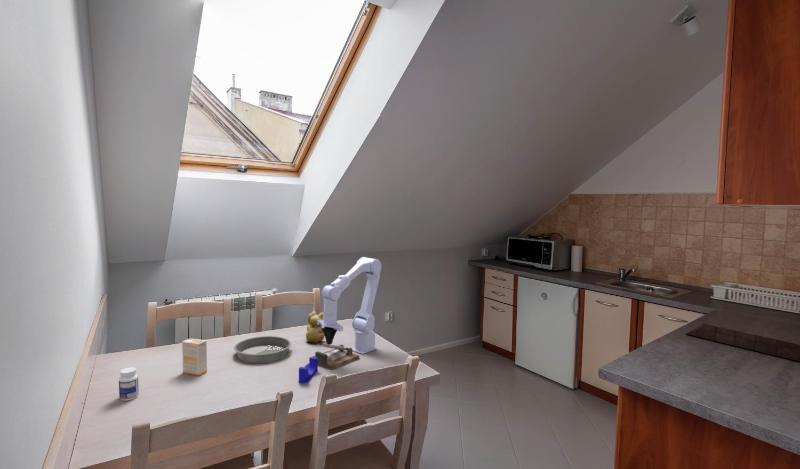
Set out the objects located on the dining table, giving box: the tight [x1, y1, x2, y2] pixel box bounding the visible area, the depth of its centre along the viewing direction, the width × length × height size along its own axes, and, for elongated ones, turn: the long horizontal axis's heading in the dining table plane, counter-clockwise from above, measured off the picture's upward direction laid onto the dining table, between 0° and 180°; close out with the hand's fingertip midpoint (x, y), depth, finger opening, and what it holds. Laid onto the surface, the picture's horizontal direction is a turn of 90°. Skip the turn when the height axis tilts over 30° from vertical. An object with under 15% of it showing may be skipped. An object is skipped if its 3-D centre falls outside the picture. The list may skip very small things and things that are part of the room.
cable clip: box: [298, 356, 319, 384], centre depth 169 cm, size 12×4×6 cm, turn 169°
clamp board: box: [308, 344, 360, 370], centre depth 187 cm, size 17×14×5 cm
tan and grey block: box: [321, 342, 349, 351], centre depth 188 cm, size 14×4×1 cm, turn 143°
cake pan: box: [233, 335, 292, 364], centre depth 192 cm, size 25×25×4 cm
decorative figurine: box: [305, 310, 325, 344], centre depth 209 cm, size 10×8×15 cm
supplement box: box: [181, 337, 208, 377], centre depth 169 cm, size 8×5×13 cm, turn 71°
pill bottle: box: [118, 366, 140, 402], centre depth 147 cm, size 6×6×10 cm
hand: (329, 343), depth 184 cm, fingers closed, pressing on tan and grey block
